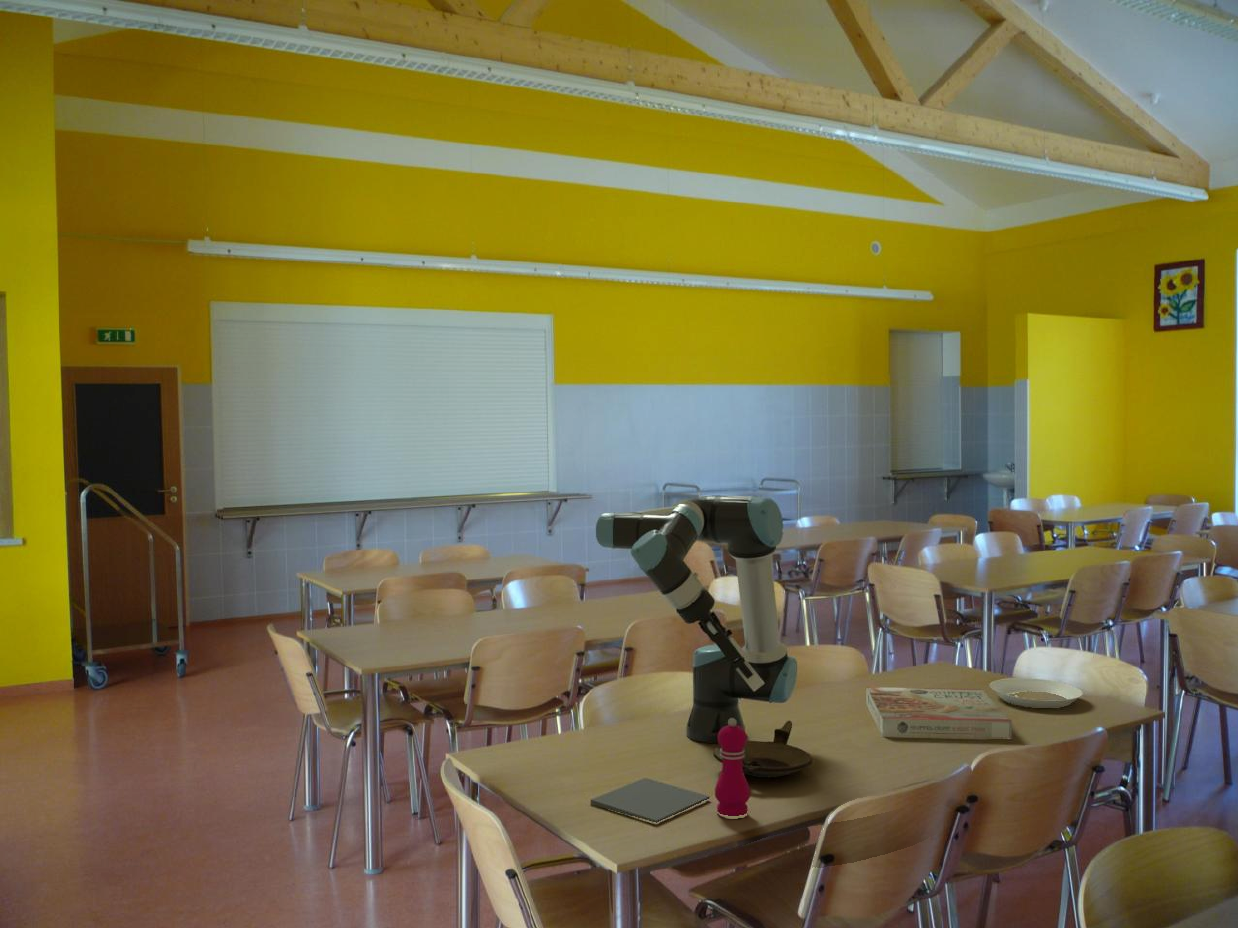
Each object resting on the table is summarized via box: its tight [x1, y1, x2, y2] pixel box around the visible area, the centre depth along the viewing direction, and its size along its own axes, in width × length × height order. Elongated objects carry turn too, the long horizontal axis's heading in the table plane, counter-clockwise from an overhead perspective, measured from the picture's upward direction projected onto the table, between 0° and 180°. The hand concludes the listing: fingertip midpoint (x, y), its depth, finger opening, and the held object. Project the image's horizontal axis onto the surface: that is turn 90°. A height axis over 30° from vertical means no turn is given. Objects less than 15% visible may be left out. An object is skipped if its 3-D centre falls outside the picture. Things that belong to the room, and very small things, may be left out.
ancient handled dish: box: [712, 719, 814, 778], centre depth 246 cm, size 22×30×8 cm
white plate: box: [989, 677, 1084, 709], centre depth 305 cm, size 25×25×4 cm
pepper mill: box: [714, 718, 751, 816], centre depth 218 cm, size 7×7×20 cm
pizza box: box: [865, 686, 1013, 740], centre depth 285 cm, size 32×5×32 cm
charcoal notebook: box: [590, 777, 711, 823], centre depth 225 cm, size 18×18×1 cm
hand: (751, 674), depth 218 cm, fingers open, 13 cm apart
